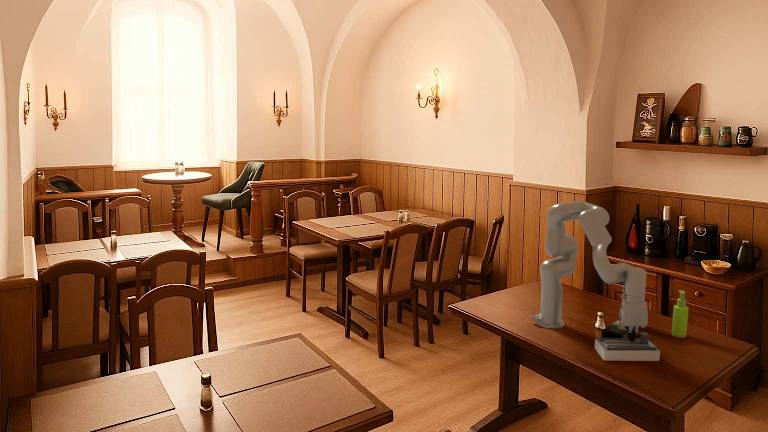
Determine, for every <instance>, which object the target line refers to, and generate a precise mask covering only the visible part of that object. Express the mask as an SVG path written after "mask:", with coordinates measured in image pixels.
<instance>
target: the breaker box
mask: <svg viewBox="0 0 768 432" xmlns="http://www.w3.org/2000/svg"><path fill="white" fill-rule="evenodd" d="M594 349H595V350H596V352H597V354H598V355H599V356H600V357H601V358H602V360H603V361H614V362H615V361H623V362H624V361H625V362H626V361H629V362H634V361H635V362H637V361H638V362H639V361H640V362H644V361H645V362H659V361H660V359H661V357H660V356H661V351H660V350H659V348H657V347H656V346H655V345H654V344H653V343H652V342H651V341H650V340H649V341H648V344H640V337H639V338H637V337H636V339H635V342H630V341H629V340H628V338H620V337H615V338H614V337H611V338H610V337H607V338H602V337H599V339H594Z"/></svg>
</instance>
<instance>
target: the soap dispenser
mask: <svg viewBox="0 0 768 432" xmlns="http://www.w3.org/2000/svg"><path fill="white" fill-rule="evenodd" d="M678 292H679V298H677V303H676V304H675V305H673V313H672V322H671V323H672V324H671V335H672V336H673V337H677V338H686V337H687V331H688V321H689V320H688V319H689V312H690V311H689V309H690V308H689V306H687V305H686V304H687V299H686V298H685V295H686V291H685V290H680V289H679V290H678Z"/></svg>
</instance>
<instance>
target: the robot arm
mask: <svg viewBox="0 0 768 432" xmlns="http://www.w3.org/2000/svg"><path fill="white" fill-rule="evenodd" d="M572 221H578V223H579V225H580V227H581V229H582V230H583V233H584V234H585V236H586V238H587V239H588V241H589V243H590V245H591V247H592V263H593V266H594V268H595V270H596V272H597V274H598V276H599V278H600V279H601V280H602V282H604V283H605V284H608V285H615V284H618V283H622V282H625V293H624V295H623V294H621V296H620V298H621V304H620V309H619V314H618V315H619V317H618V320H619V321H620V323H619V326H620V327H622V328H626V329H627V330H628V333H627V338H628V340H629V341H630V342H635V339H636V338H637V336H636V333H637V332H638V330H639V331H640V330H641V329H643V328H647V326H648V320H649V316H648V315H649V314H648V303H647V302H646V301H645V298H646V297H645V296H646V285H647V283H646V281H647V271H646V269H644V268H642V267H636V266H633V265H631V264H629V263H626V262H620V263H619V262H618V263H616V264H611V262H610V260H609V258H608V255H607V249H608V246H609V244H611V242H612V238H613V237H612V236H611V235H610V233H609V231H608V229H607V227H606V226H607V225H608V224H609V222H610V214H609V213H608V210H606V209H605V208H603V207H601V206H598V205H596V204H593V203H589V202H587V201H583V200H574V201H567V202H560V203H555V204H554V205H552V206H550V208H549V209H548V211H547V213H546V233H545V245H544V246H545V247H544V249H545V250H544V251H545V254H546V255H547V256H548V257H550V259H545V260H544V261H543V262H542V263H541V264H540V267H539V274H540V281H541V288H540V289H541V291H540V294H541V295H540V312H538V314H536V315H533V314H531V315H529V318H530V320H533V321H535V322H536V325H538V326H539V327H542V328H545V329H551V330H552V329H562V328H563V327H564V326H565V321H564V320H563V319H562V314H563V313H562V312H563V310H562V309H563V285H562V283H561V280H560V279H562V278H565V277H569V276H571V275H572V274H573V273H574V272H575V270H576V263H577V255H578V243H577V240H576V238H575V237H574V236H573V235H571V234H570V233H569V234H567V226H566V222H572ZM551 257H552V258H551ZM622 299H624V300H623V301H622ZM632 326H633V328H632Z"/></svg>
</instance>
